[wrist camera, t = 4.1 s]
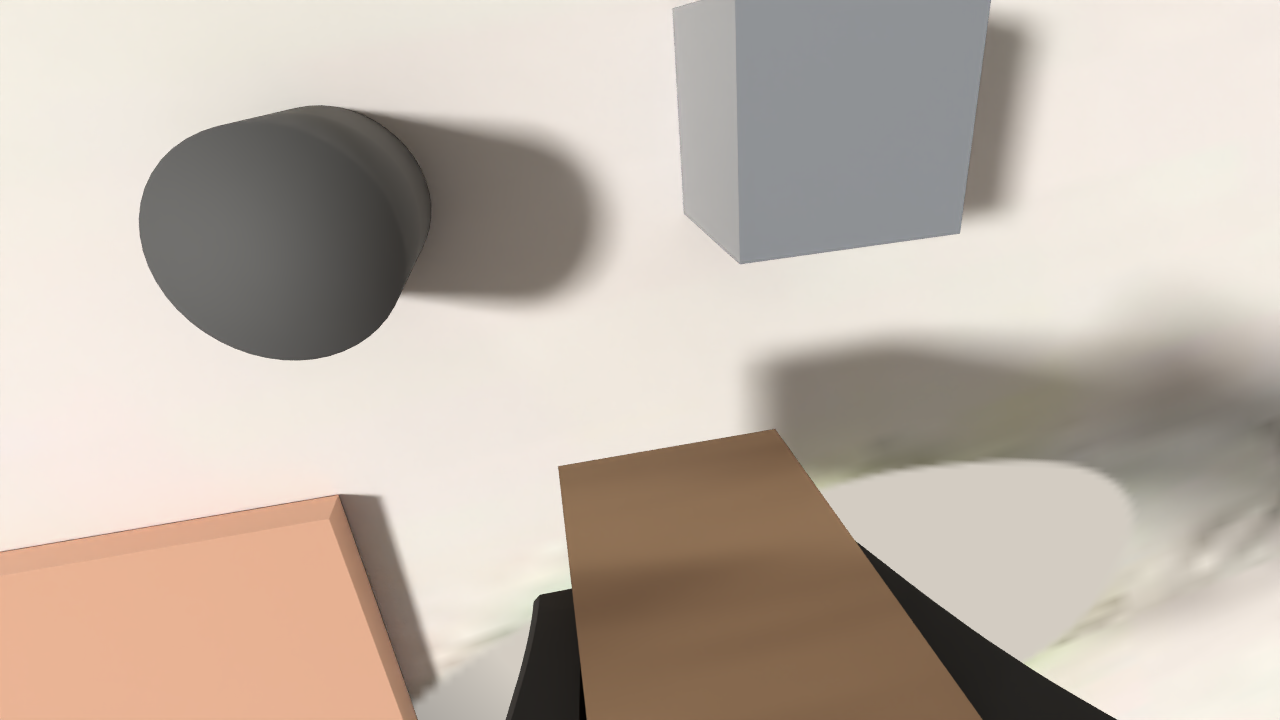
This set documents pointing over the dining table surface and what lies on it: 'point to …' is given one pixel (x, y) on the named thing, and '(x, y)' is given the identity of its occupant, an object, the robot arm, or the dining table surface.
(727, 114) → the grey cube
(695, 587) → the walnut block
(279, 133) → the rubber cylinder
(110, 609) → the terracotta tile
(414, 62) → the dining table surface
